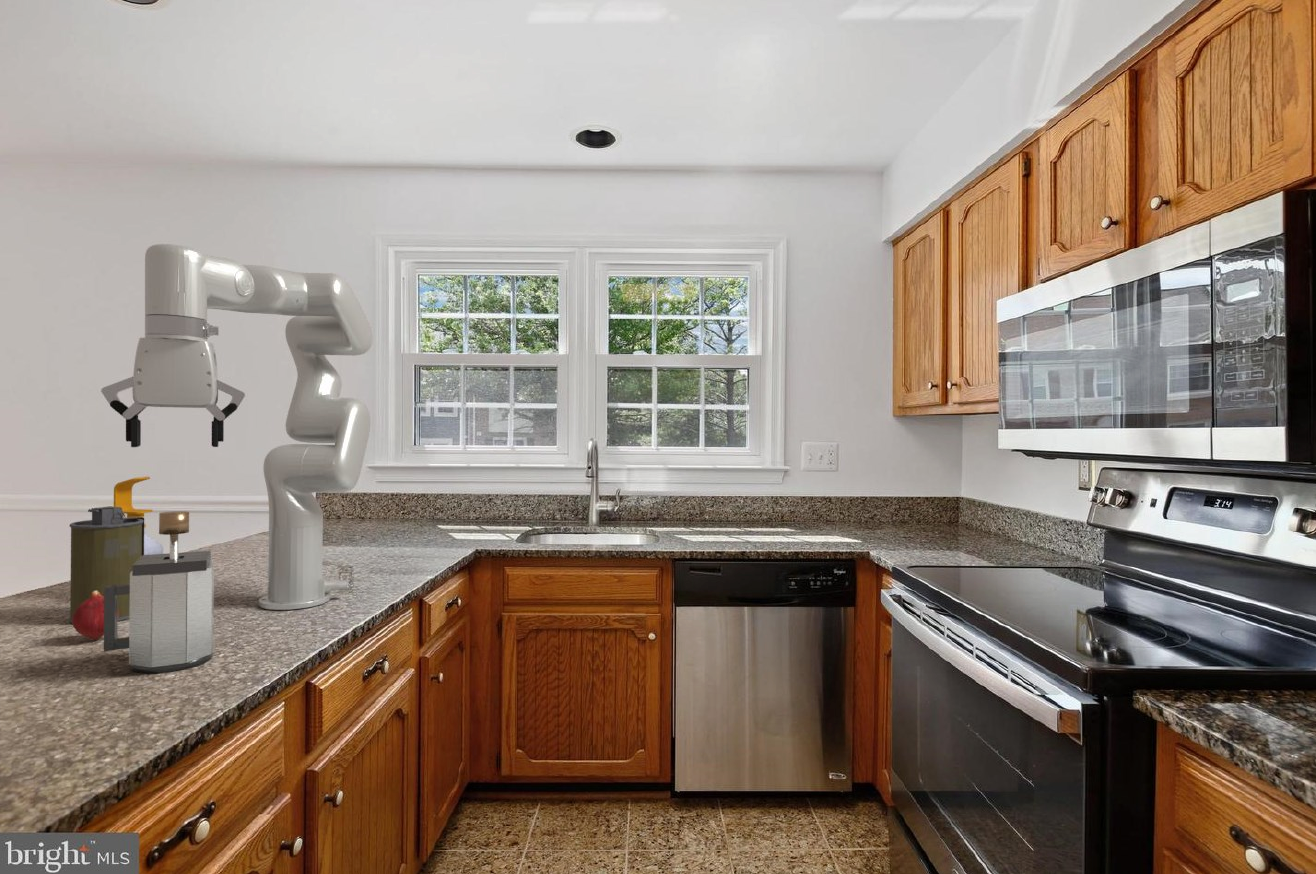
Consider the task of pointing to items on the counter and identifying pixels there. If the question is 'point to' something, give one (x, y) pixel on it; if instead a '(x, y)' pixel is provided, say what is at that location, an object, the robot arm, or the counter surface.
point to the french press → (165, 612)
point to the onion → (90, 617)
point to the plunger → (173, 528)
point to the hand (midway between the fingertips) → (176, 446)
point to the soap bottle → (135, 511)
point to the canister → (104, 555)
